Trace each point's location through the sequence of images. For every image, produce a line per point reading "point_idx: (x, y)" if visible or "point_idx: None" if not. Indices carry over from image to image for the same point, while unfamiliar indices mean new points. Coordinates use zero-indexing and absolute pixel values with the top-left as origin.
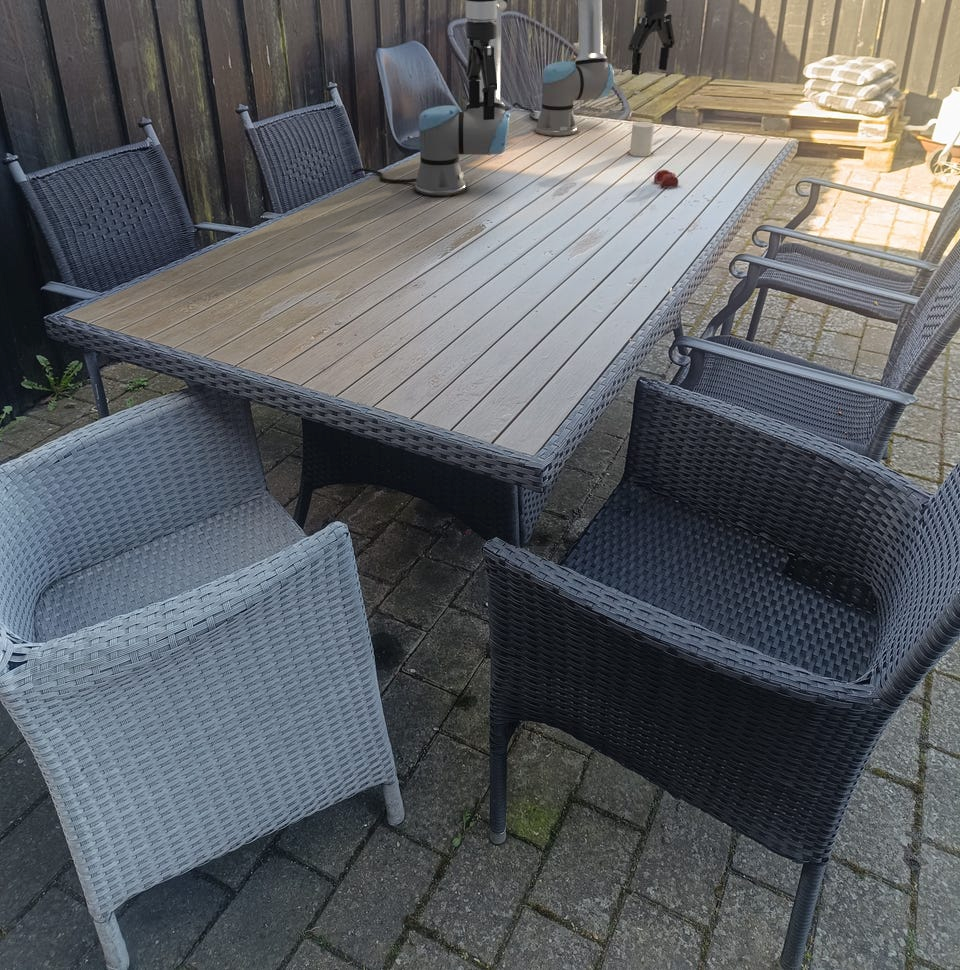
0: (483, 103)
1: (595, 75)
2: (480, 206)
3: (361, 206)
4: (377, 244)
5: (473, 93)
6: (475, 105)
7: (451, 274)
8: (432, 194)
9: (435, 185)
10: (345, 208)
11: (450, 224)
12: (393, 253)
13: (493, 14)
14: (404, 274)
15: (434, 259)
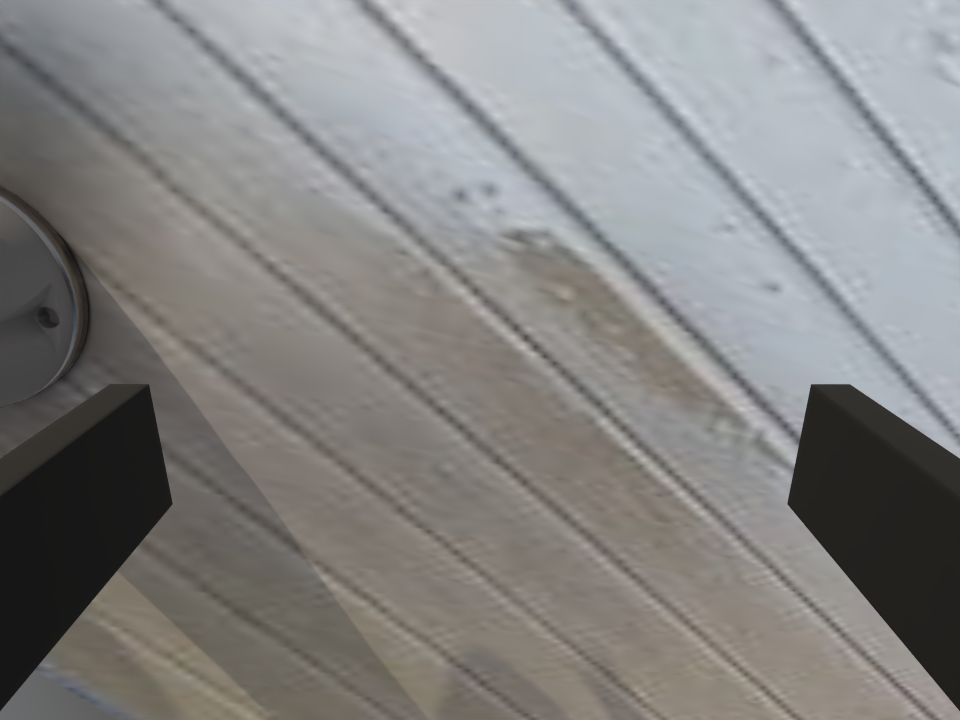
0: (910, 641)
1: None
2: (251, 172)
3: (185, 609)
4: (592, 620)
5: (47, 583)
6: (140, 453)
7: None
8: (77, 351)
9: (48, 349)
10: (201, 655)
11: (464, 361)
12: (690, 592)
13: None
14: None
15: None
